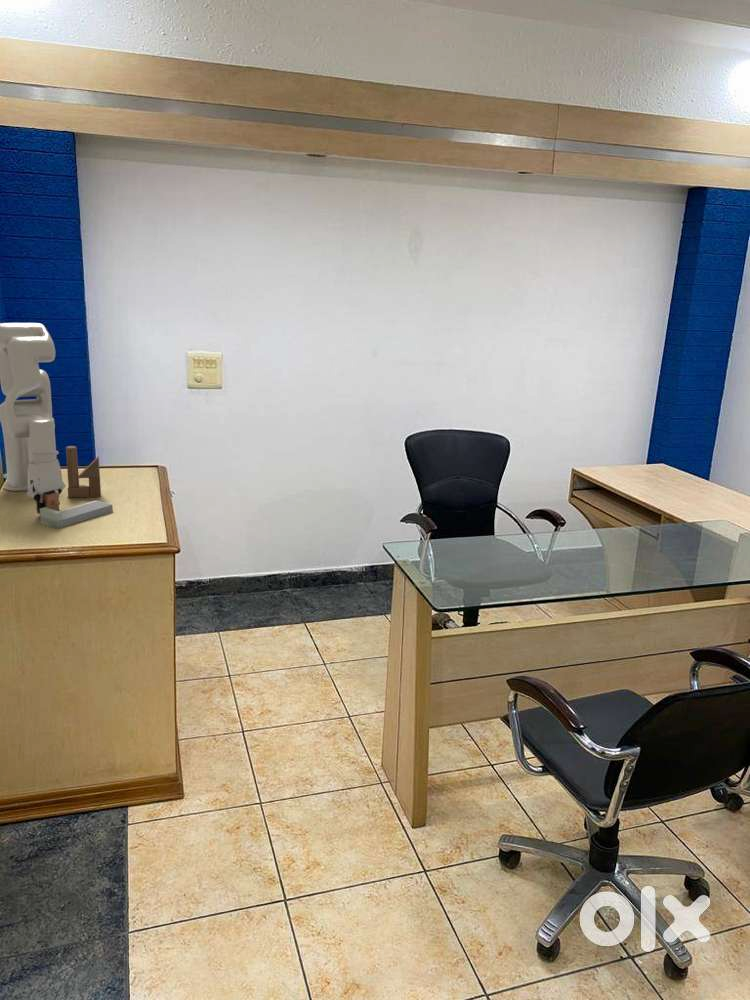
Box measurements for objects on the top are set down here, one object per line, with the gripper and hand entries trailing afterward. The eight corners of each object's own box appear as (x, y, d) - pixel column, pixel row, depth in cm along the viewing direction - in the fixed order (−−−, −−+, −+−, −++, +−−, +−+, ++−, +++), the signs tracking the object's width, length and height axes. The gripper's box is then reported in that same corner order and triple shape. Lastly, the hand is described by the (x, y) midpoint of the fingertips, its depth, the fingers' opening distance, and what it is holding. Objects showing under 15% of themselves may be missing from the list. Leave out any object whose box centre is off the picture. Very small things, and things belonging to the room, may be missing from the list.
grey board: (40, 523, 252) (39, 508, 250) (96, 507, 270) (95, 493, 268) (57, 528, 248) (56, 513, 246) (112, 511, 266) (112, 497, 265)
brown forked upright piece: (100, 497, 281) (97, 447, 275) (68, 498, 278) (64, 448, 273) (101, 494, 284) (98, 445, 279) (69, 495, 281) (65, 445, 276)
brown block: (37, 513, 258) (35, 492, 256) (47, 510, 261) (45, 489, 259) (54, 518, 254) (52, 497, 252) (64, 515, 257) (63, 494, 255)
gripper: (58, 450, 261) (62, 503, 267) (13, 460, 247) (18, 515, 253) (73, 454, 258) (77, 507, 263) (28, 463, 244) (33, 520, 249)
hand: (48, 510), depth 258 cm, fingers closed on brown block, 4 cm apart
